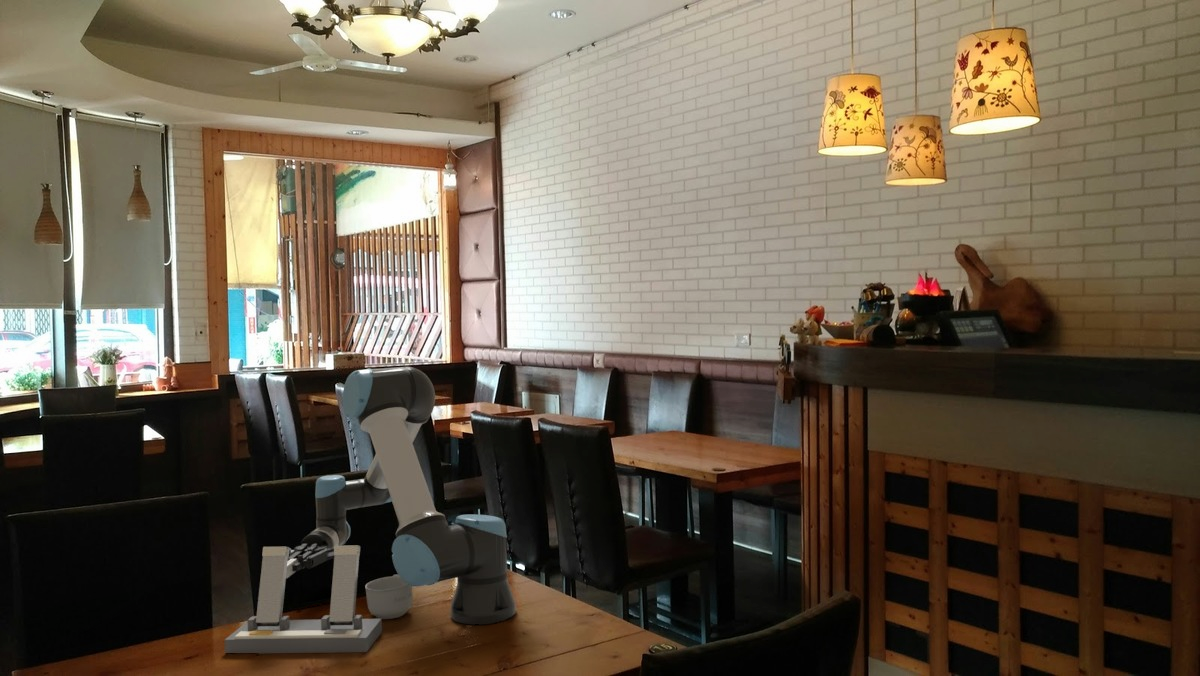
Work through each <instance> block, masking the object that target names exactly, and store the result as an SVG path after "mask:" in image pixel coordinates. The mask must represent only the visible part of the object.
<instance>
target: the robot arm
mask: <svg viewBox="0 0 1200 676" xmlns="http://www.w3.org/2000/svg"><path fill="white" fill-rule="evenodd" d="M435 402H436V393H435V388H434V385H433V383H432V381H431V379H430V378H429V377H428V375H427V374H426V373H424V372H423V371H422V370H420V369H418V368H415V367H412V366H399V367H384V368H369V367H368V368H366V369H358V370H357V369H356V370H354V371H353V372H351V373H350V374H349V375H348V376H347V378H346V381H345V383H344V385H343V391H342V407H343V411H344V414H345V416H346V417H347V418H349V419H350V420H353V421H356V420H357V422H358V424H359V428H360V429H361V430H362V431H363V432H365V433H368V434H369V436H370V439H371V441H372V442H371V443H372V445H373V448H374V451H375V455H374V457H373V459H372V461H371V463H370V466H369V468H368V471H367V472H366V475H365V476H364V478H360V479H359V478H358V479H353V480H346V478H345V476H343V475H340V474H333V475H331V474H330V475H324V476H320V477H319V478H317V479H316V481H315V490H314V491H315V493H314V495H315V497H314V498H315V508H316V509H315V510H316V511H315V512H316V516H315V517H316V518H315V519H316V521H315V523H316V524H315V525H316V528H315V529H314V530H312V531H311V532H310V533H309V534H307V535H306V536H304V538H303V539H302V540H301V542H300V543H299V545H297V546H295V547H294V548H293V549H292V548H289V557H288V561H287V571H286V579H288V578H290V577H291V576H292V575H294V574H295V573H296V572H298V571H300V570H304V569H305V568H306V569H308V570H309V569H313V568H315V567H317V566H319V565H320V564H323V563H325V562H327V561H329V560H334V556H335V555H334V549H335V546H345V544H346V543H347V541H348V539H350V537H351V530H352V529H351V526H350V524H349V523H348V521H347V511H348V510H354V509H359V508H365V507H372V506H379V505H384V504H387V503H391V502H392V505H393V508H394V511H395V515H396V517H397V521H398V523H399V526H398V527H397V530H396V532H395V537H396V538H395V539H394V541H393V542H392V545H391V552H392V555H391V558H392V563H393V567H394V569H395V571H396V573H397V574H398V575H399V576H400V577H401V578H402V580H403V581H404V582H406V583H408V584H409V585H411V586H412V587H423V586H431V585H435V584H436V583H439V582H443V581H448V580H452V579H455V578H457V580H456V581H457V583H456V586H455V590H454V595H453V597H452V600H451V603H450V619H452V620H453V621H454V622H457V623H460V624H463V625H464V624H466V625H475V624H479V625H489V624H490V625H491V624H496V623H495V622H497V623H500V621H501V622H504V621H507V620H508V618H509V619H511V618H513V617H514V616H515V615H514V614H516V612H517V611H516V610H517V609H516V601H515V599H514V595H513V592H512V589H511V587H510V583H509V581H508V556H507V555H508V554H507V552H508V551H507V549H508V548H507V538H508V535H507V527H506V526H507V525H506V522H505V521H504V520H503V518H501V517H498V516H494V515H487V514H475V513H474V514H460V515H458V516H456V518H455V521H454V523H455V524H452V525H449V524H448V520H447V517H446V515H445V514H444V513H442V512H438V511H437V510H436V507H435V505H434V504H435V503H434V501H433V498H432V495H431V493H430V490H429V487H428V484H427V481H426V478H425V476H424V473H423V470H422V467H421V465H420V461H419V459H418V454H417V452H416V449H415V446H414V444H413V443H414V441H415V439H416V437H417V435H418V433H419V431H420V428H421V426H422V425H423V424H425V423H427V422H428V421H429V419H430V417H431V415H432V413H433V411H434V408H435V404H436V403H435ZM513 615H514V616H513ZM510 617H511V618H510ZM506 619H507V620H506Z"/></svg>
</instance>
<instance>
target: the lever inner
mask: <svg viewBox="0 0 1200 676" xmlns="http://www.w3.org/2000/svg"><path fill="white" fill-rule="evenodd" d="M360 553H361V546H360V545H357V544H356V545H342V546H335V549H334V558H333V569H332V571H333V572H332V584H331V595H330V596H331V597H330V604H329V605H330V608H329V615H330V618H329V622H330V625H331V626H336V625H353V618H354V617H355V616H356V615H355V614H356V603H357V592H358V589H357V588H358V577H359V575H358V574H359V565H360V564H359V563H360V561H359V560H360V555H361V554H360Z"/></svg>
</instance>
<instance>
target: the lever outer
mask: <svg viewBox="0 0 1200 676" xmlns="http://www.w3.org/2000/svg"><path fill="white" fill-rule="evenodd" d="M289 549H290V547H289V546H263V547H262V553H261V554H262V561H261V573H260V579H259V580H260V581H259V588H258V597H257V600H258V601H257V609H256V615H255V616H256V623H257V626H258V627H261V626H280V619H281V618H282V617H283V610H284V609H283V608H284V602H285V601H284V599H285V589H286V582H287V581H286V580H287V578H286V571H287V561H288V557H289Z"/></svg>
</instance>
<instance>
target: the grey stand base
mask: <svg viewBox="0 0 1200 676" xmlns="http://www.w3.org/2000/svg"><path fill="white" fill-rule="evenodd" d="M256 616H257V615H253V616H250V617H249V618H247V621H246V622H245V623H243V624H242V625H241V626H240V627H238V628H237V629H236V630H234V632H232V633H231V634H229V636H227V637H226V638H225V639H224V654H225V653H258V654H312V653H313V654H315V653H316V654H323V653H324V654H325V653H326V654H327V653H328V654H329V653H367V652H368V651H369V650H370V648H371V646H372V645H374V643H375V642H376V640H377V639H378V638H379V636H380V635H381V634H382V633H383V623H382V620H383V619H379V618H363V614H356V615H355V617H354V618H353V625H336V626H331V625H330V622H329V618H330V614H329V615H328V614H327V615H326V614H325V615H323V616H322V618H321V619H290V615H282V618H281V619H280V626H261V627H258V626H257V623H256Z"/></svg>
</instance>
